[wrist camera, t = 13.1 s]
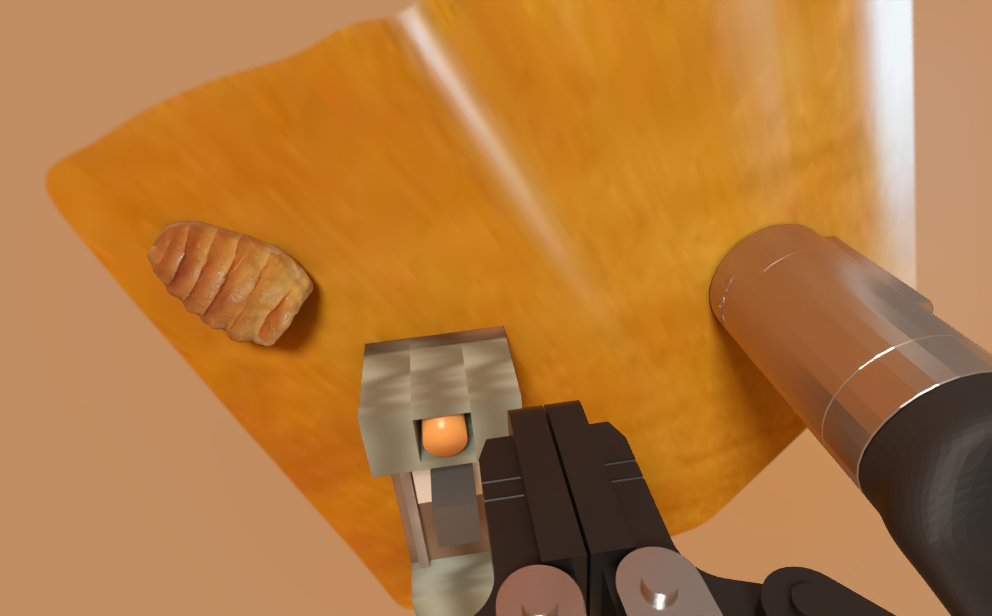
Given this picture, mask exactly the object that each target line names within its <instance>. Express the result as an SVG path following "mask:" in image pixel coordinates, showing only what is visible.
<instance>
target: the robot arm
mask: <svg viewBox="0 0 992 616" xmlns="http://www.w3.org/2000/svg"><path fill="white" fill-rule="evenodd" d="M710 303H711V308H712V311H713V313H714V315H715V316H716V318H717V320H718V321H719V322H720V323H721V324H722V326H723V327H724V328H725V329H726V330H727V332H728V333H729V334H730V335H731V336H732V338H733V339H734V340H735V341H736V342H737V343H738V345H739V346H740V347H741V349H742V350H743V351H744V352H745V353H746V355H747V356H748V357H749V358H750V359H751V361H752V362H753V363H754V364H755V365H756V367H757V368H758V369H759V370H760V371H761V372H762V374H763V375H764V376H765V377H766V378H767V380H768V381H769V382H770V383H771V384H772V386H773V387H774V388H775V389H776V390H777V392H778V393H779V394H780V395H781V396H782V398H783V399H784V400H785V401H786V402H787V404H788V405H789V406H790V407H791V408H792V409H793V411H794V412H795V413H796V414H797V415H798V417H799V418H800V419H801V420H802V421H803V423H804V424H805V425H806V426H807V427H808V429H809V430H810V431H811V432H812V433H813V434H814V436H815V437H816V438H817V439H818V441H819V442H820V443H821V444H822V445H823V446H824V448H825V449H826V450H827V451H828V452H829V454H830V455H831V456H832V457H833V458H834V459H835V461H836V462H837V463H838V464H839V465H840V466H841V468H842V469H843V470H844V471H845V472H846V474H847V475H848V476H849V477H850V478H851V480H852V481H853V482H854V483H855V484H856V486H857V487H858V488H859V489H860V490H861V492H862V493H863V494H864V495H865V496H866V498H867V499H868V500H869V501H870V503H871V504H872V505H873V506H874V507H875V509H876V510H877V511H878V512H879V514H880V515H881V517H882V519H883V521H884V524H885V526H886V528H887V529H888V531H889V533H890V535H891V537H892V538H893V540H894V541H895V543H896V544H897V545H898V547H899V548H900V550H901V551H902V552H903V554H904V555H905V556H906V557H907V559H908V560H909V561H910V563H911V564H912V565H913V566H914V567H915V569H916V570H917V571H918V573H919V574H920V575H921V576H922V578H923V579H924V580H925V581H926V583H927V584H928V585H929V587H930V588H931V589H932V591H933V592H934V593H935V595H936V596H937V597H938V599H939V600H940V601H941V602H942V604H943V605H944V607H945V608H946V609H947V611H948V612H949V613H950V615H951V616H992V354H990V353H989V352H987V351H986V350H985V349H983V348H982V347H980V346H979V345H977V344H976V343H974V342H973V341H971V340H970V339H968V338H967V337H965V336H964V335H963V334H961V333H959V332H958V331H957V330H955V329H954V328H953V327H951V326H950V325H948V324H947V323H945V322H944V321H942V320H941V319H940V318H938V317H937V316H935V315H934V314H932V313H933V304H932V302H931V301H930V300H929V299H927V298H926V297H924V296H923V295H921V294H920V293H918V292H917V291H915V290H914V289H912V288H911V287H909V286H908V285H906V284H905V283H904V282H902V281H901V280H899V279H898V278H896V277H895V276H893V275H892V274H890V273H889V272H887V271H886V270H884V269H883V268H881V267H880V266H878V265H877V264H875V263H874V262H872V261H871V260H869V259H868V258H866V257H865V256H863V255H862V254H860V253H859V252H858V251H856V250H855V249H853V248H852V247H850V246H849V245H847V244H846V243H844V242H843V241H841V240H840V239H838V238H837V237H830V238H824V237H822V236H820V235H819V234H817V233H816V232H814V231H813V230H812V229H809V228H806V227H804V226H801V225H792V224H785V225H776V226H772V227H769V228H766V229H762V230H760V231H758V232H756V233H754V234H752V235H750V236H748V237H747V238H746V239H744V240H743V241H741V242H740V243H739V244H737V245H736V246H735V247H734V248H733V249H732V250H731V251H730V252H729V253H728V254H727V255H726V256H725V258H724V259H723V261H722V262H721V263H720V265H719V266H718V268H717V270H716V273H715V275H714V277H713V280H712V284H711V288H710ZM507 418H508V431H509V436H505V437H498V438H491V439H486V441H485V444H484V446H483V449H482V452H481V454H480V457H479V467H480V476H481V484H482V492H483V501H484V509H485V517H486V524H487V531H488V538H489V545H490V552H491V560H492V567H493V574H494V585H493V588H492V592H491V594H490V596H489V598H488V600H487V601H486V603H485V604H484V606H483V607H482V608H481V609H480V610H479V611H478V612H477V613H476V614H475V615H474V616H895V615H894V614H892V613H890V612H888V611H887V610H885V609H883V608H882V607H880V606H878V605H876V604H875V603H873V602H871V601H869V600H868V599H866V598H864V597H862V596H861V595H859V594H857V593H855V592H854V591H852V590H850V589H848V588H847V587H845V586H843V585H842V584H840V583H838V582H836V581H835V580H833V579H831V578H829V577H827V576H826V575H824V574H822V573H820V572H817V571H814V570H811V569H807V568H803V567H785V568H780V569H778V570H776V571H774V572H772V573H771V574H770V575H769V576H768V577H767V578H766V579H765V581H764V583H763V584H759V583H752V582H745V581H738V580H731V579H725V578H721V577H716V576H713V575H711V574H708V573H706V572H704V571H701V570H700V569H698V568H697V567H695V566H694V565H693V564H692V563H691V562H690V561H689V560H687V559H686V558H685V557H683V556H682V555H681V554H680V553H679V551H678V550H677V549H676V547H675V546H674V544H673V542H672V540H671V538H670V535H669V533H668V531H667V529H666V526H665V524H664V522H663V520H662V517H661V515H660V513H659V511H658V509H657V506H656V504H655V502H654V500H653V497H652V495H651V493H650V491H649V488H648V486H647V484H646V482H645V479H643V476H642V473H641V471H640V468H639V466H638V464H637V462H635V457H634V455H633V453H632V450H631V448H630V446H629V444H628V441H627V439H626V437H624V436H623V435H622V434H621V433H620V432H619V431H618V430H617V429H616V428H615V427H613V426H612V425H611V424H610V423H609V422H602V423H595V424H589V423H588V420H587V418H586V415H585V413H584V410H583V407H582V405H581V403H580V401H579V400H576V401H569V402H562V403H555V404H547V405H544V407H542V406H534V407H527V408H520V409H513V410H507Z"/></svg>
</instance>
